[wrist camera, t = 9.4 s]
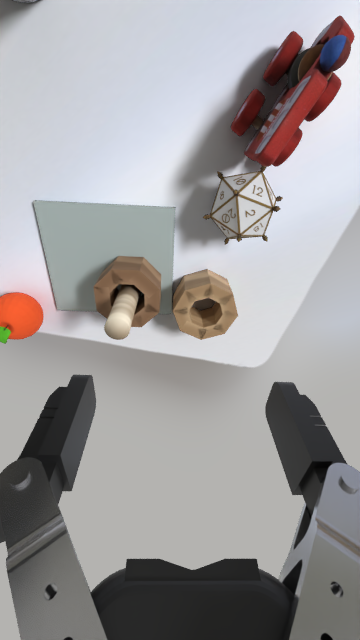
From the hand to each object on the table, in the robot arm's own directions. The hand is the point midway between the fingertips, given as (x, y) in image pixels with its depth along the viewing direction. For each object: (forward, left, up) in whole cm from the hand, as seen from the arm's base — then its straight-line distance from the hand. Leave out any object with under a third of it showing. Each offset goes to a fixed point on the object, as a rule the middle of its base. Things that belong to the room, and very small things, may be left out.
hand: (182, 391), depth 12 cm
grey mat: (+5, -9, -29) cm, 31 cm away
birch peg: (+8, -6, -29) cm, 31 cm away
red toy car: (-14, +11, -30) cm, 34 cm away
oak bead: (+10, +4, -29) cm, 32 cm away
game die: (-4, +8, -30) cm, 31 cm away
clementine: (+13, -23, -30) cm, 40 cm away
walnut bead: (+8, -6, -29) cm, 31 cm away
